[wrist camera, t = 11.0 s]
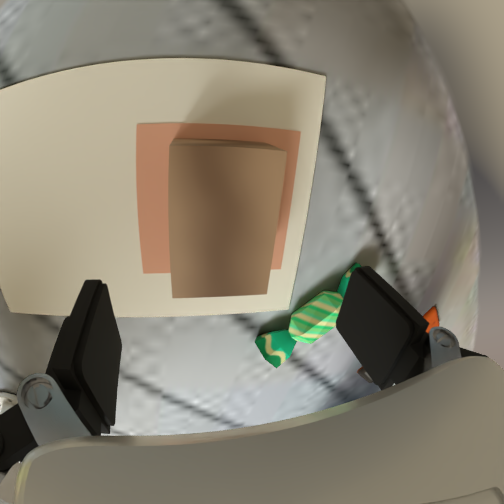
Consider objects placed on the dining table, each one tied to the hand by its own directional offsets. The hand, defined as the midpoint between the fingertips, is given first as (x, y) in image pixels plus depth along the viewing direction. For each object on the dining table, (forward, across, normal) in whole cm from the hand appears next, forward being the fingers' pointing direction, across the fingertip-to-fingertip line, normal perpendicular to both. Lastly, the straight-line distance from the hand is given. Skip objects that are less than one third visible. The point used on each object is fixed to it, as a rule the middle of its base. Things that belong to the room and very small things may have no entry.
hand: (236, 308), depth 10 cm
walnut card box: (+11, -1, -1) cm, 11 cm away
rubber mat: (+11, +6, -1) cm, 13 cm away
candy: (+12, -10, +10) cm, 18 cm away
